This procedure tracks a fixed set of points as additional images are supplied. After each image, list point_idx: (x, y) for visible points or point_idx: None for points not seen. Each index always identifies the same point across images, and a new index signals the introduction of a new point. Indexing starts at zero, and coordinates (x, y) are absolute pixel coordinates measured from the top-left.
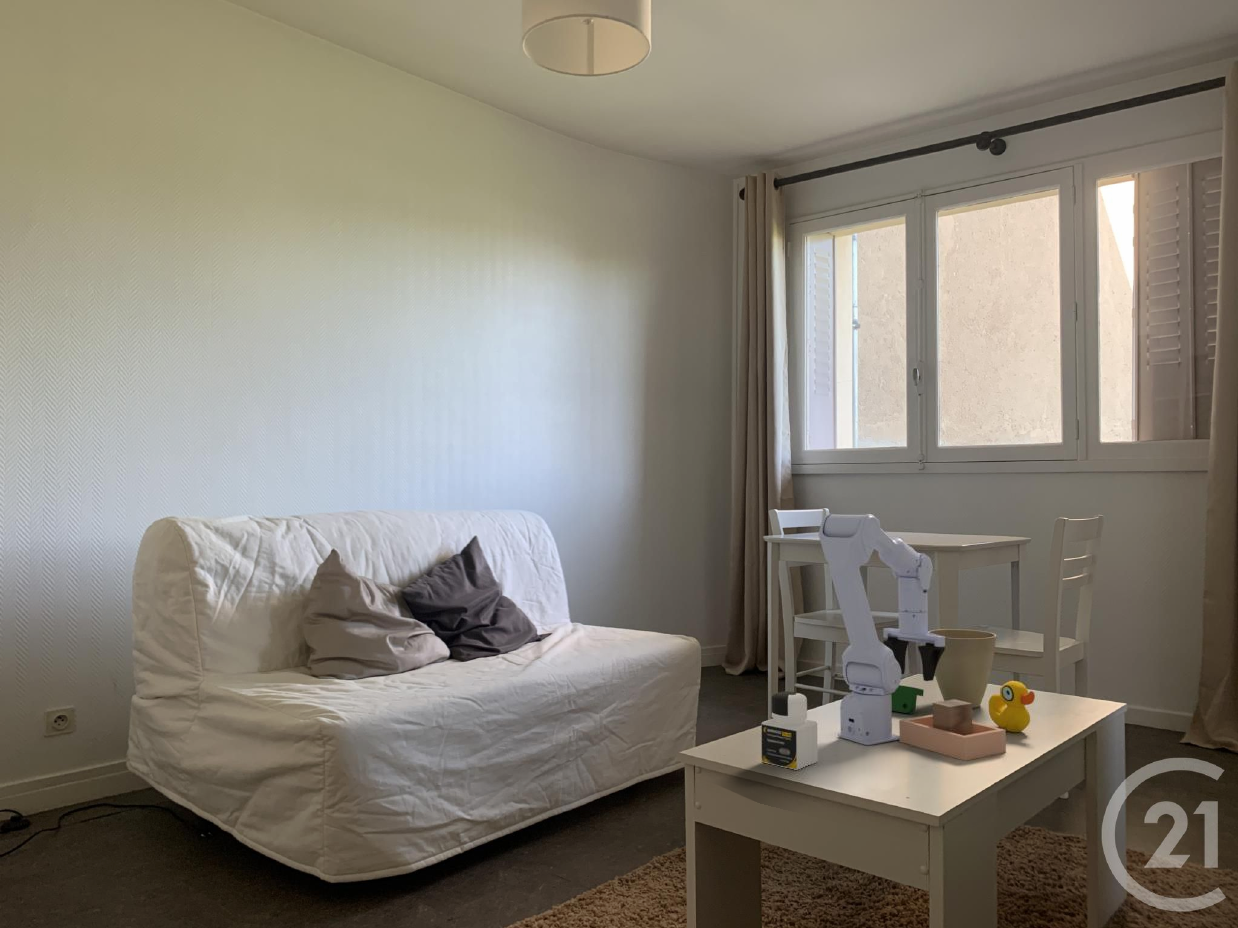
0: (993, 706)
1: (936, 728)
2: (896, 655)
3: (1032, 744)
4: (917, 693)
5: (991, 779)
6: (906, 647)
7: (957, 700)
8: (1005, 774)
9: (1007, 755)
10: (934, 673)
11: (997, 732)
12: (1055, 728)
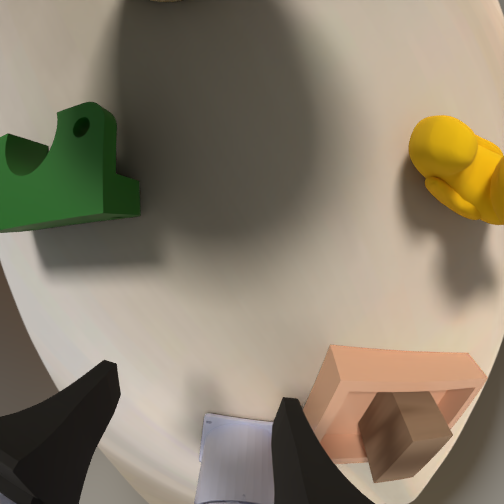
0: (444, 174)
1: None
2: (84, 457)
3: (500, 264)
4: (113, 169)
5: (449, 445)
6: (47, 445)
7: (420, 442)
8: (463, 425)
9: None
10: (306, 420)
11: (474, 395)
12: (492, 72)
